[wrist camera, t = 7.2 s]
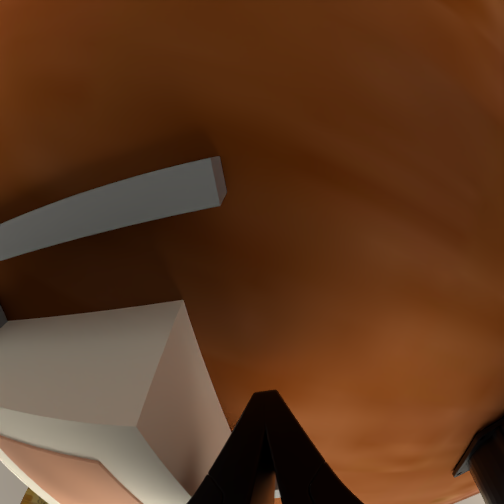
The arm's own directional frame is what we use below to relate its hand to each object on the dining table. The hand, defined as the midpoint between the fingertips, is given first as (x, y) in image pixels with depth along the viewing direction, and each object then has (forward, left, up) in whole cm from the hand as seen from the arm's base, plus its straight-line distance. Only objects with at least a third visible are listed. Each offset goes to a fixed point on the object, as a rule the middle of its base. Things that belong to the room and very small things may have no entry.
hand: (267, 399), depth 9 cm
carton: (-1, +6, -2) cm, 7 cm away
